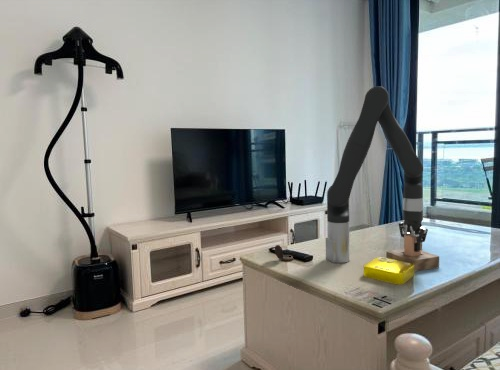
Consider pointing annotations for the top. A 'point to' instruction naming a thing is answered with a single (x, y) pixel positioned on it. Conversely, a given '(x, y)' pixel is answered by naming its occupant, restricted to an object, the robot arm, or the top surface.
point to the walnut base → (415, 259)
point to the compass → (280, 254)
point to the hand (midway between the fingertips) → (412, 249)
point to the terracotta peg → (410, 246)
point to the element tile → (389, 270)
